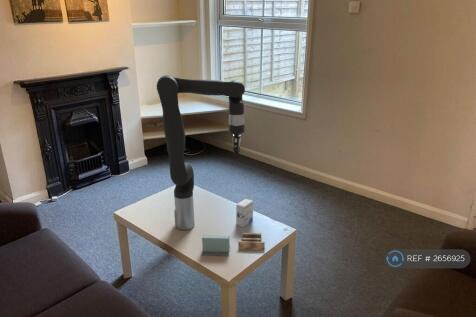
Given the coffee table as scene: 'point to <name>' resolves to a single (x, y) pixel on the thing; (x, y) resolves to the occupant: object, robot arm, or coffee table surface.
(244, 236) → the walnut slot block
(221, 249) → the grey-green rectangular block
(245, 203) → the ink box
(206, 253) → the rubber mat
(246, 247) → the wooden bar
